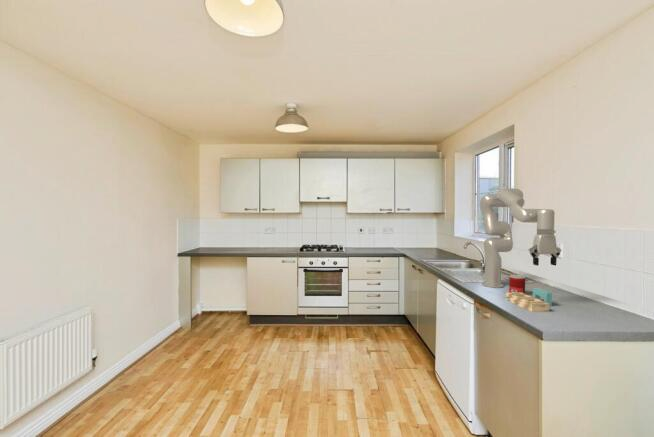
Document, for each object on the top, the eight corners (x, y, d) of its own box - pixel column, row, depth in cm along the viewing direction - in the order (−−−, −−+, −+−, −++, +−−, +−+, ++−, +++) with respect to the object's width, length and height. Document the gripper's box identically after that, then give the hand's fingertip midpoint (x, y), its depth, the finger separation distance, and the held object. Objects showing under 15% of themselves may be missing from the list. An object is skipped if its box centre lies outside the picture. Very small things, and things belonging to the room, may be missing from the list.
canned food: (527, 296, 181) (527, 277, 180) (511, 295, 183) (512, 277, 182) (521, 293, 188) (522, 275, 188) (507, 292, 190) (507, 274, 190)
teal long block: (532, 300, 174) (532, 288, 173) (537, 300, 174) (537, 288, 173) (546, 306, 164) (546, 293, 163) (551, 306, 164) (552, 293, 164)
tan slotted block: (505, 299, 175) (506, 292, 174) (521, 299, 175) (521, 292, 175) (531, 311, 155) (532, 303, 154) (549, 311, 155) (549, 303, 155)
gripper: (555, 232, 169) (554, 263, 170) (524, 232, 168) (524, 263, 169) (566, 233, 162) (566, 266, 162) (534, 233, 161) (534, 266, 161)
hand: (544, 265), depth 166 cm, fingers open, 9 cm apart
